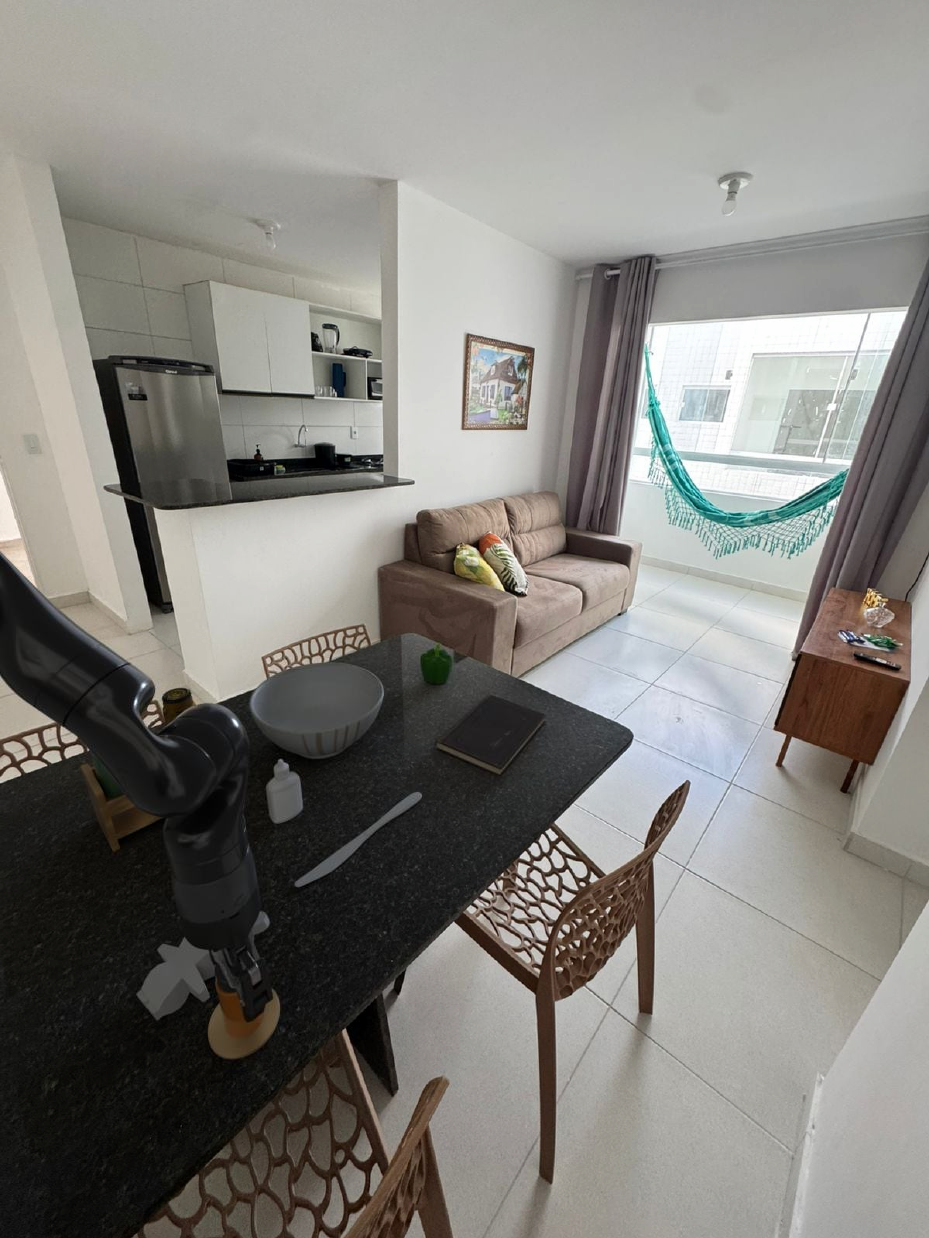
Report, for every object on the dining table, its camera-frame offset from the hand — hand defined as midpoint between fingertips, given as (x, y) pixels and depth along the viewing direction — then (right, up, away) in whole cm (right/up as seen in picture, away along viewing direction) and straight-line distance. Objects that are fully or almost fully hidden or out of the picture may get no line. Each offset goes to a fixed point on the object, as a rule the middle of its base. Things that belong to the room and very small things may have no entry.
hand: (237, 984), depth 59 cm
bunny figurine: (-8, -3, +9) cm, 12 cm away
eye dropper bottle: (-6, +7, +33) cm, 34 cm away
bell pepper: (+19, +26, +78) cm, 84 cm away
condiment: (-32, +16, +49) cm, 61 cm away
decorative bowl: (-5, +16, +52) cm, 55 cm away
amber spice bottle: (0, -6, +3) cm, 6 cm away
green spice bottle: (-31, +14, +25) cm, 43 cm away
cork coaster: (0, -6, +3) cm, 7 cm away
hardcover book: (+33, +16, +57) cm, 67 cm away
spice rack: (-27, +9, +33) cm, 43 cm away
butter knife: (+9, +5, +29) cm, 31 cm away
